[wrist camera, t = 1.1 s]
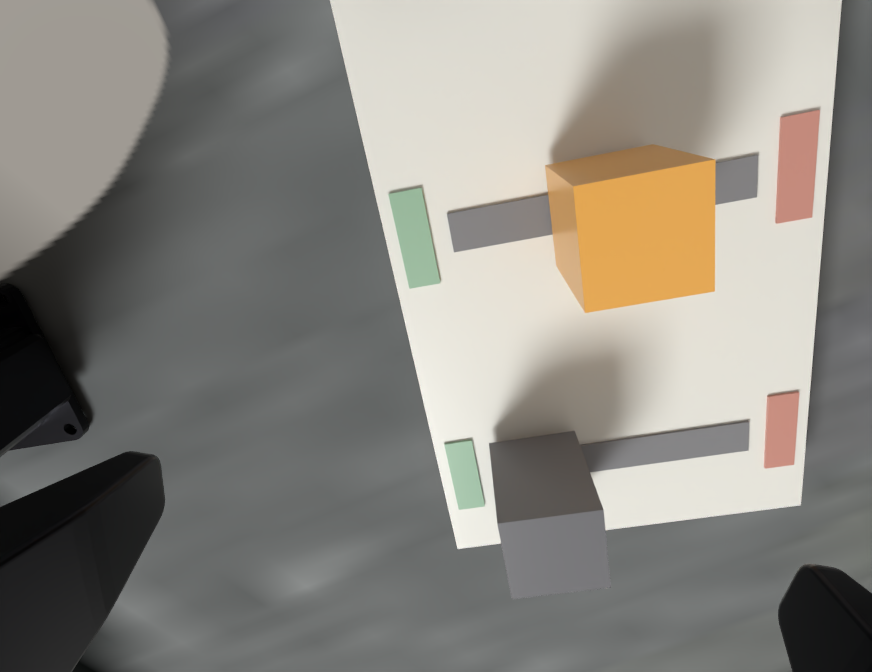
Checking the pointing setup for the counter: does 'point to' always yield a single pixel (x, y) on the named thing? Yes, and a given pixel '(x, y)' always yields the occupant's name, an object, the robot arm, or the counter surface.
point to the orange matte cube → (634, 225)
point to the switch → (548, 516)
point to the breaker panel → (534, 248)
